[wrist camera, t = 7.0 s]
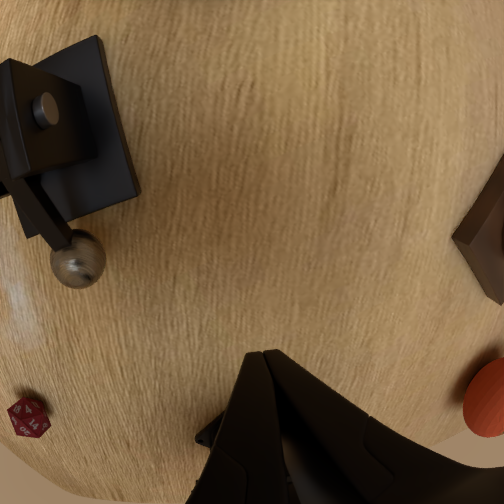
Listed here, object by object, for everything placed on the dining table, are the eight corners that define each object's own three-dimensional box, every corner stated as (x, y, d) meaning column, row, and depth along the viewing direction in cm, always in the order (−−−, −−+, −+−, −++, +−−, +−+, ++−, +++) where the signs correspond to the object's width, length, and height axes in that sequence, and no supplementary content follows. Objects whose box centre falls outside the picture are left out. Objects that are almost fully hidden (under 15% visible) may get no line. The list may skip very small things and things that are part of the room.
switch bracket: (141, 192, 17) (94, 236, 9) (34, 233, 17) (-45, 292, 9) (102, 39, 14) (40, -21, 6) (-2, 94, 13) (-92, 85, 5)
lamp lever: (116, 247, 18) (115, 291, 16) (72, 261, 17) (67, 305, 15) (22, 81, 9) (-8, 112, 7) (-28, 115, 9) (-60, 152, 7)
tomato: (502, 373, 32) (542, 413, 22) (449, 418, 32) (486, 466, 23) (506, 326, 28) (559, 369, 19) (446, 378, 28) (496, 435, 19)
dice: (63, 412, 22) (52, 444, 18) (36, 420, 22) (24, 449, 18) (36, 383, 21) (20, 415, 17) (10, 393, 21) (-5, 422, 17)
